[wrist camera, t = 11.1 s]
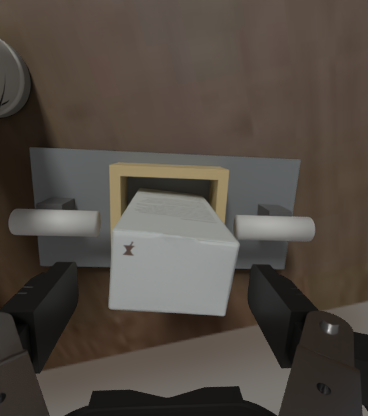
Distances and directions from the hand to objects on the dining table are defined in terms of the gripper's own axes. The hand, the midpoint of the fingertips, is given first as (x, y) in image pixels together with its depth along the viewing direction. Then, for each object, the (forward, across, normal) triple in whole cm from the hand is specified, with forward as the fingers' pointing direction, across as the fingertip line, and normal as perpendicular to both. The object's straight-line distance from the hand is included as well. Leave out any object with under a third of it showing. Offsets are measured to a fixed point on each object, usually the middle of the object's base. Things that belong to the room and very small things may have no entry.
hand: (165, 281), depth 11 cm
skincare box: (+12, 0, 0) cm, 12 cm away
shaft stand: (+14, 0, 0) cm, 14 cm away
